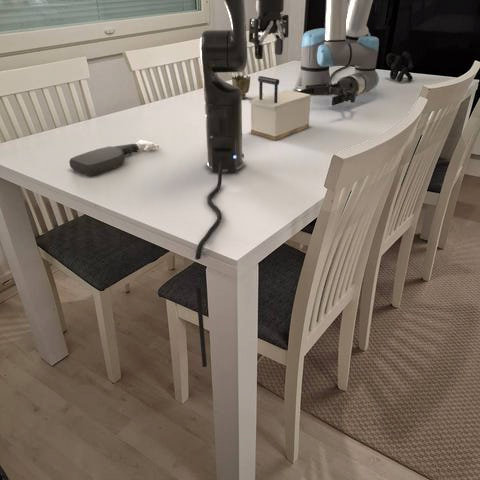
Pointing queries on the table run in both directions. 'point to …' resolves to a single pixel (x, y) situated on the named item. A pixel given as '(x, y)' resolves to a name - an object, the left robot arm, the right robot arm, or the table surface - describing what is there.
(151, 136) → the table surface
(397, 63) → the squiggle
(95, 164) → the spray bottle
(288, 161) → the table surface
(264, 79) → the lid
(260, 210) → the table surface
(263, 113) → the cream rectangular box
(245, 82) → the mottled brown jagged dome
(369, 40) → the right robot arm
